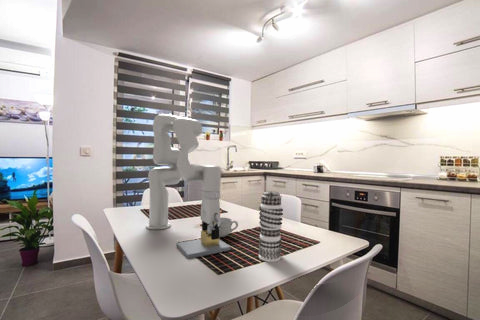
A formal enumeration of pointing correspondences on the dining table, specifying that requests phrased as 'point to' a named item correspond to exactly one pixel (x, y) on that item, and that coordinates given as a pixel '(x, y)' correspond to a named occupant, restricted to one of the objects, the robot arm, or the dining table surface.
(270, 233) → the leaning tower model
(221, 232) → the teacup
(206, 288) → the dining table surface
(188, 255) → the board
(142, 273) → the dining table surface
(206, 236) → the brass collar
